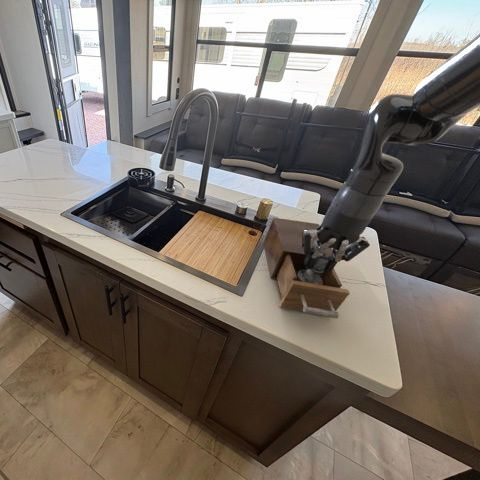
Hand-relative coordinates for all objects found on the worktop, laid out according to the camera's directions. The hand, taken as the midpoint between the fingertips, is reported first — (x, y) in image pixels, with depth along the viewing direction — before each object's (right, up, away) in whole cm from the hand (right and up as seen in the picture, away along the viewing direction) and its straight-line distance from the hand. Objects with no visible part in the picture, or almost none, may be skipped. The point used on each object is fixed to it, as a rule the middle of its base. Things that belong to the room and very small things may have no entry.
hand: (316, 268), depth 62 cm
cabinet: (+2, 0, +17) cm, 17 cm away
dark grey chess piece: (0, -6, +5) cm, 7 cm away
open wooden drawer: (-1, -8, +6) cm, 10 cm away
